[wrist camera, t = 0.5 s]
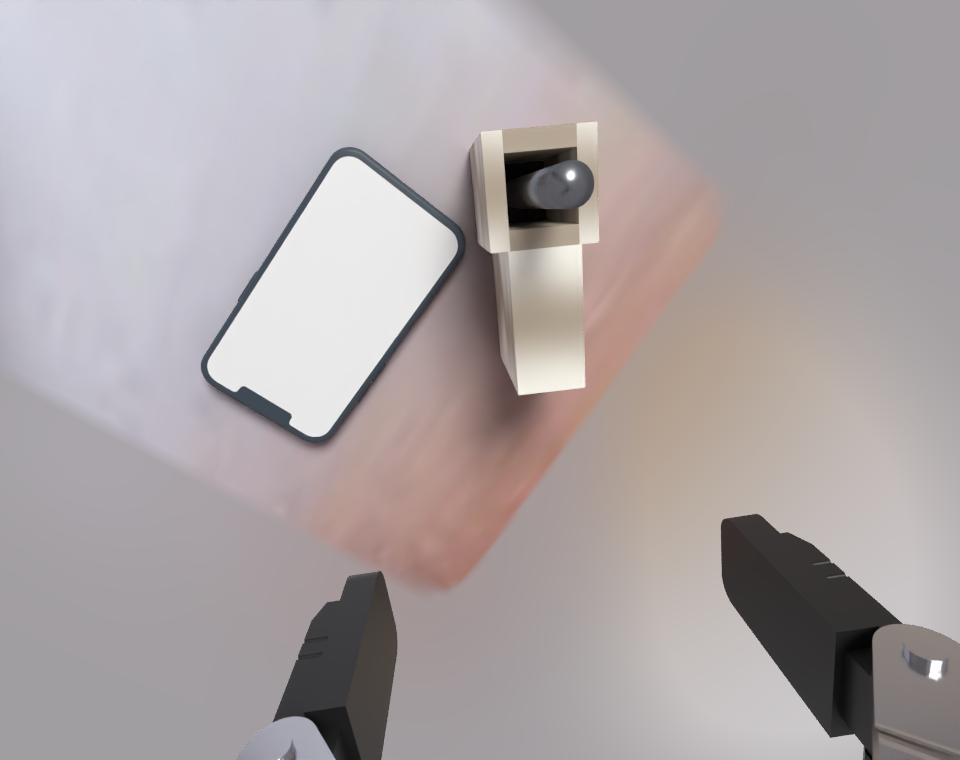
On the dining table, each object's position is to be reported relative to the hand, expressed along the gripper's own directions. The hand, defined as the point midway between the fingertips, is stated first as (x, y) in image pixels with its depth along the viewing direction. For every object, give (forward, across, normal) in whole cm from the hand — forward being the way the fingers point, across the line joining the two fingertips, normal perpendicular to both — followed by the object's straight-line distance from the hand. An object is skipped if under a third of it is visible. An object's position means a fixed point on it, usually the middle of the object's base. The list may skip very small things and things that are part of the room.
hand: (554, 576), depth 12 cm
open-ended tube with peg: (+21, -3, -6) cm, 22 cm away
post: (+20, -3, -10) cm, 23 cm away
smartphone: (+21, +9, -5) cm, 23 cm away
